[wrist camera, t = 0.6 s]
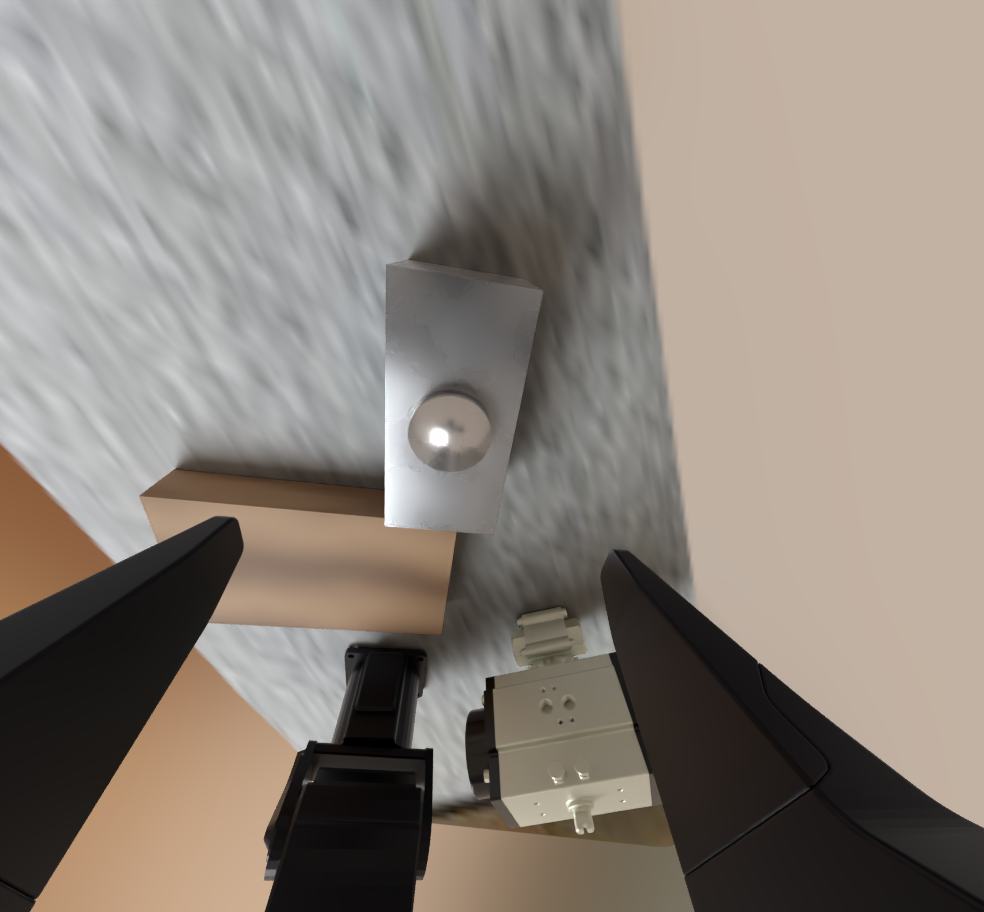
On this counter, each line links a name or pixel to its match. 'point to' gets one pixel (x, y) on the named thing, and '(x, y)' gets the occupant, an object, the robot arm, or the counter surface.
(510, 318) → the housing
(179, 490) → the walnut stand
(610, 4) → the counter surface
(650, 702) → the robot arm
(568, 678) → the pneumatic valve
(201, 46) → the counter surface
